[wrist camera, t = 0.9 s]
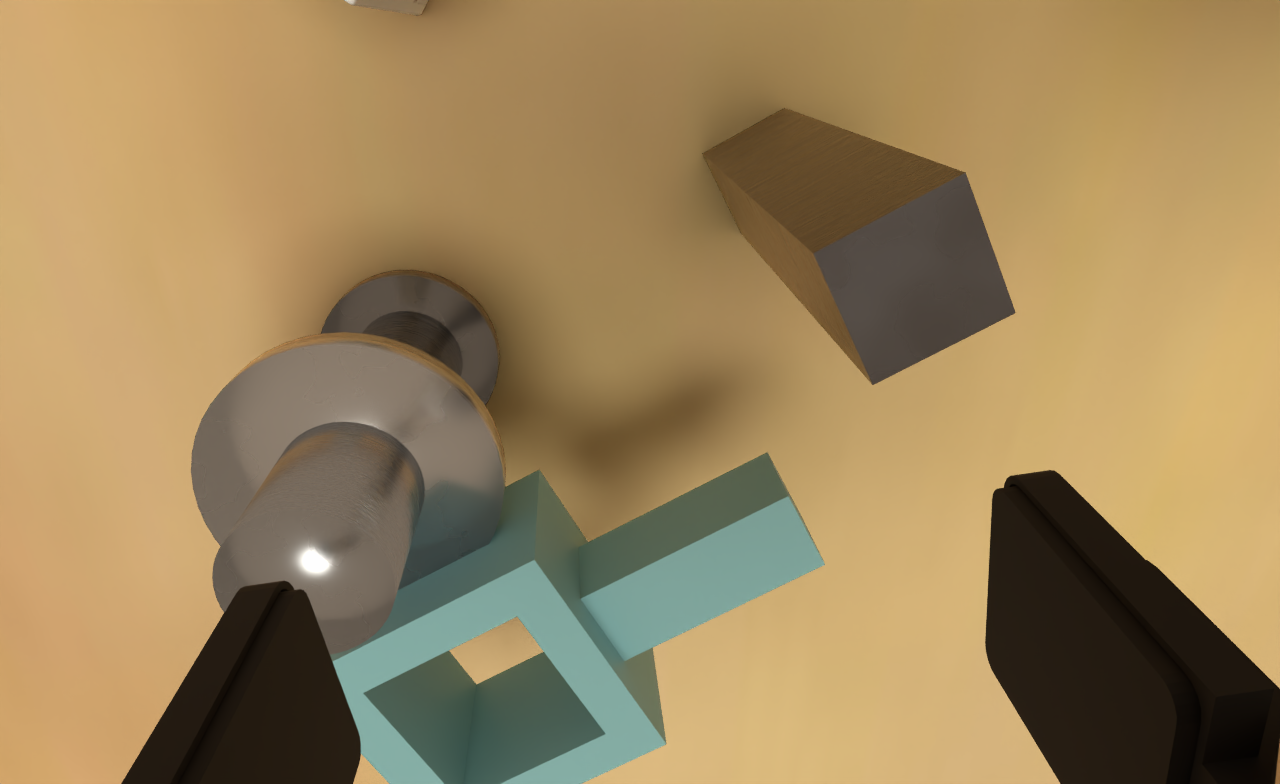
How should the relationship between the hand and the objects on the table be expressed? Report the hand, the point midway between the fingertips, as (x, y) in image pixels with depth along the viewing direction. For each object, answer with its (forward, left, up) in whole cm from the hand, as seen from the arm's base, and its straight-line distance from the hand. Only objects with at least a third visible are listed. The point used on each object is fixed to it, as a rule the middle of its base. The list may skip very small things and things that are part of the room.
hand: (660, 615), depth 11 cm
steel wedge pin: (-7, +2, -29) cm, 29 cm away
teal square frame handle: (+7, +11, -20) cm, 23 cm away
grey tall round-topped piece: (+11, +2, -29) cm, 30 cm away
